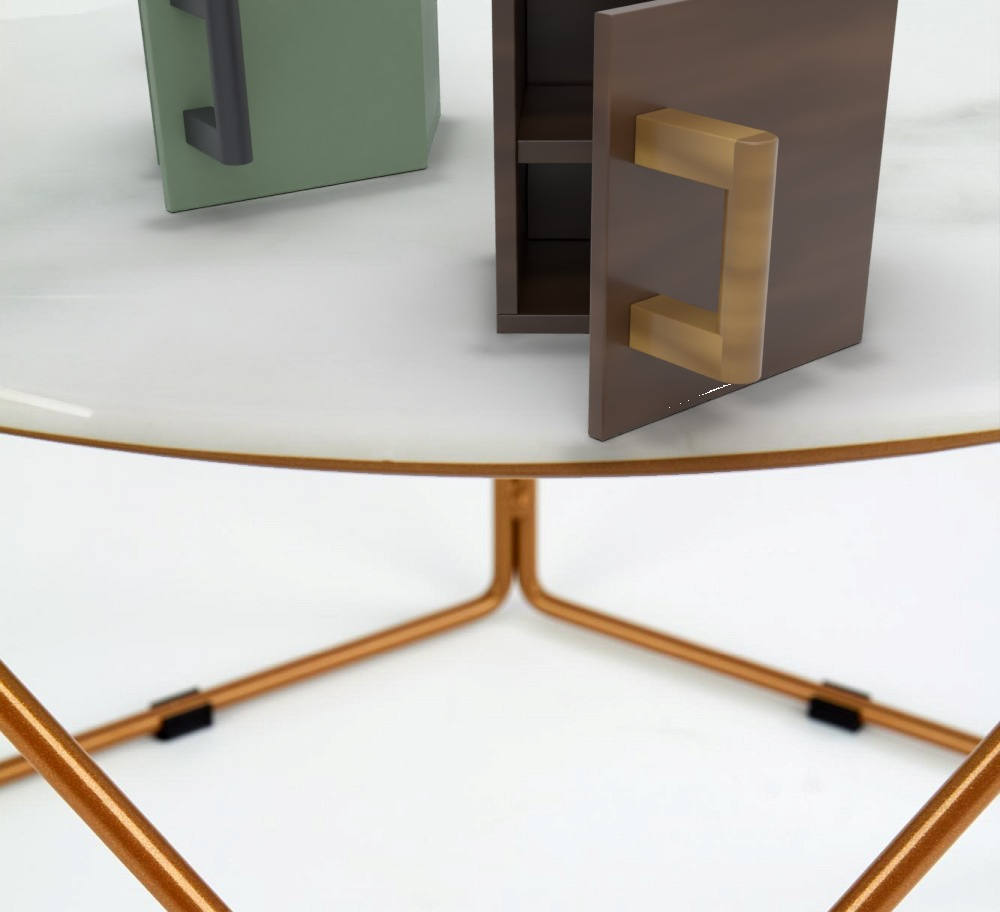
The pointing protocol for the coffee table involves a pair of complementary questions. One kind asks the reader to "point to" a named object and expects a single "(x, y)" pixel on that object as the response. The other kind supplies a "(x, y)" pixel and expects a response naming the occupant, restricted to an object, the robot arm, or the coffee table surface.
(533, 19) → the near cabinet
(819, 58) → the near door
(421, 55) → the far door
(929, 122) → the coffee table surface
